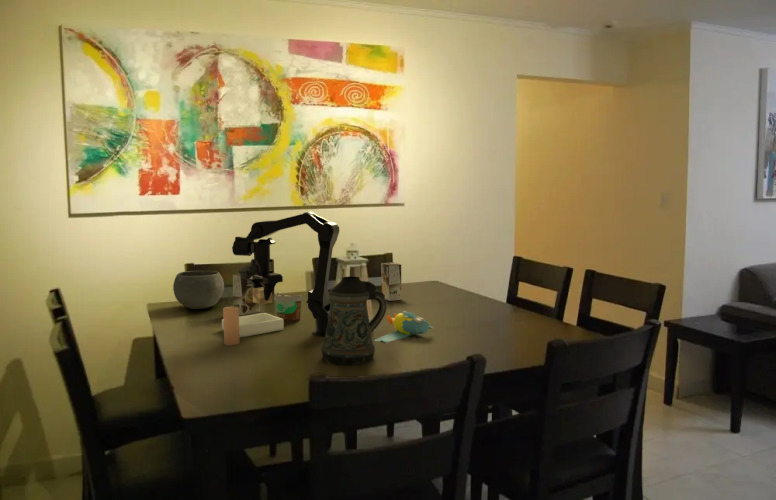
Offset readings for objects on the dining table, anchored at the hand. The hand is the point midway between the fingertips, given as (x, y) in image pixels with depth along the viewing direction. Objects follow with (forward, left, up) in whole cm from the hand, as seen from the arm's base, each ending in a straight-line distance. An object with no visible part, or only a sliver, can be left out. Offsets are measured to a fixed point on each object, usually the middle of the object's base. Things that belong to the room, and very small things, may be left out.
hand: (262, 299), depth 232 cm
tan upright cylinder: (-10, +17, -11) cm, 23 cm away
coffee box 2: (+15, -73, -12) cm, 75 cm away
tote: (+2, +3, -11) cm, 12 cm away
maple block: (0, 0, -1) cm, 1 cm away
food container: (+8, -14, -12) cm, 20 cm away
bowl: (+52, +2, -12) cm, 53 cm away
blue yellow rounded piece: (-39, -36, -12) cm, 54 cm away
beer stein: (-49, -4, -12) cm, 50 cm away
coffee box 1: (+30, -9, -12) cm, 33 cm away
